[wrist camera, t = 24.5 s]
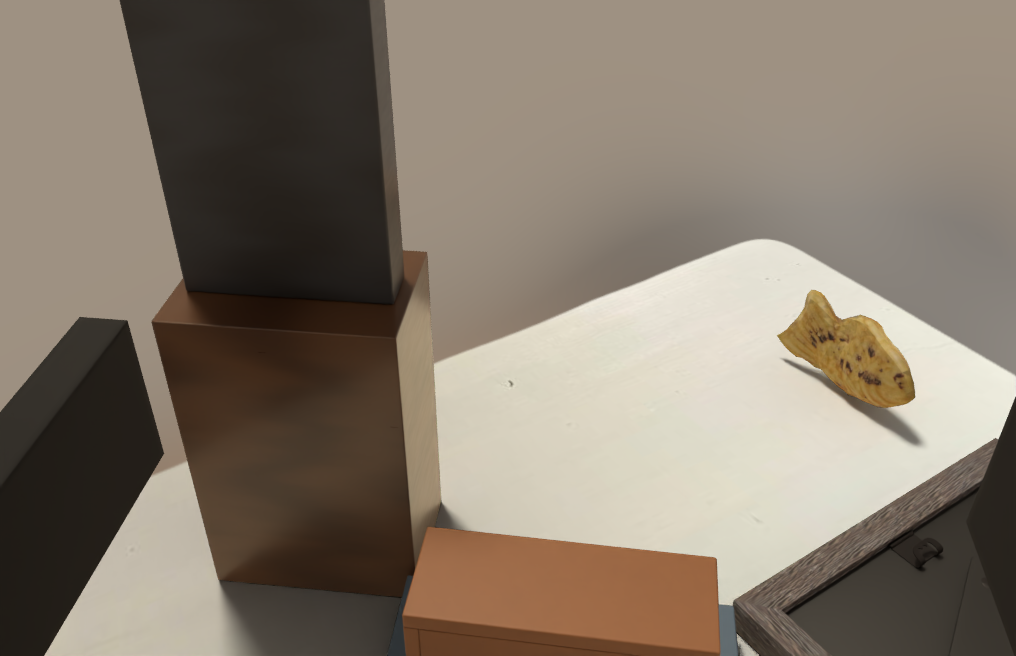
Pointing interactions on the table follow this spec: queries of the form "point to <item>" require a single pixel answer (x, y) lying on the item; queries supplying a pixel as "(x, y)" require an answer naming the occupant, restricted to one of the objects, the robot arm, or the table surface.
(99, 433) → the robot arm
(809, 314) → the pastry
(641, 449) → the table surface
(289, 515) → the wooden block with slab
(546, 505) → the table surface
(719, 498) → the table surface
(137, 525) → the table surface
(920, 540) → the picture frame
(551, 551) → the orange brown block
